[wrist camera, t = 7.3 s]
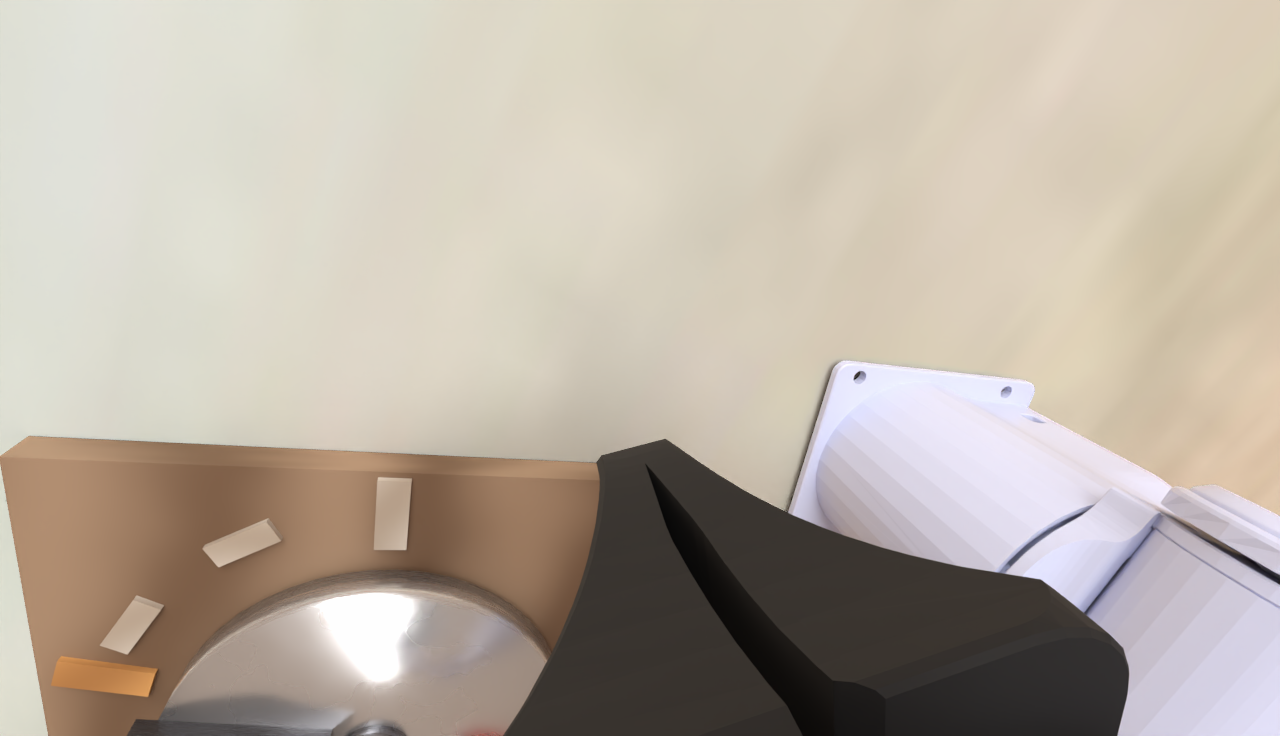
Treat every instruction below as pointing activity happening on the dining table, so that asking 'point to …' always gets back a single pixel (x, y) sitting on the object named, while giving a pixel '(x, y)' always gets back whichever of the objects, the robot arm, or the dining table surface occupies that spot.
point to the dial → (361, 663)
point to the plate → (257, 548)
